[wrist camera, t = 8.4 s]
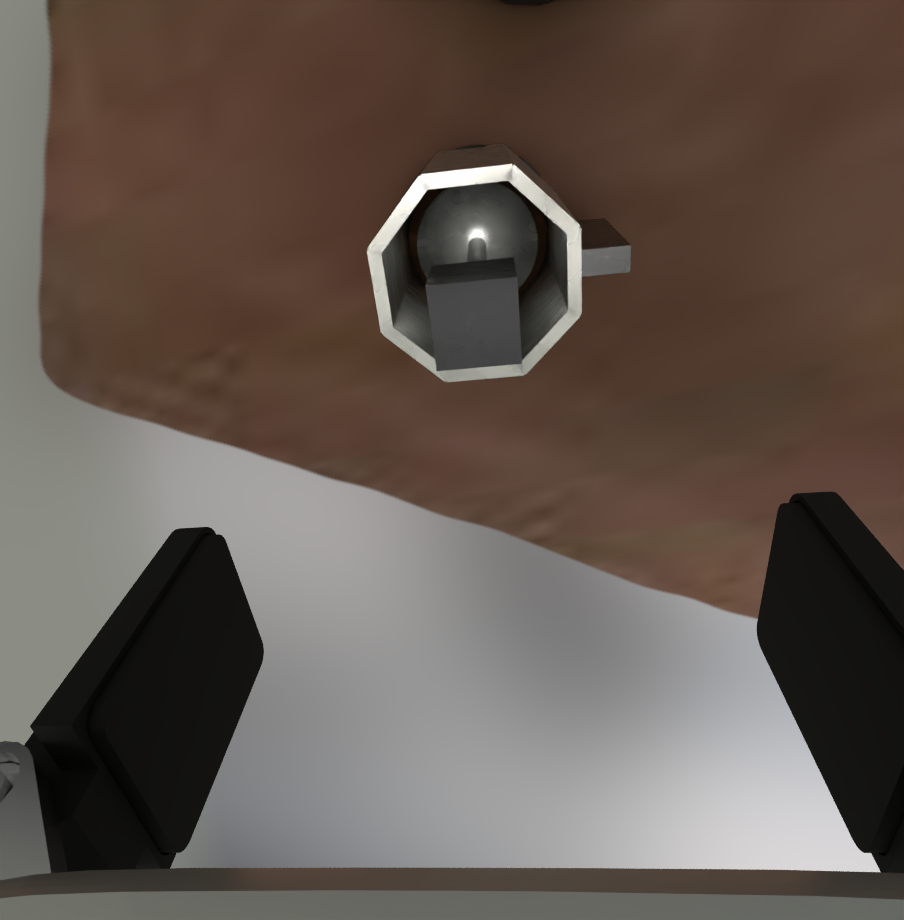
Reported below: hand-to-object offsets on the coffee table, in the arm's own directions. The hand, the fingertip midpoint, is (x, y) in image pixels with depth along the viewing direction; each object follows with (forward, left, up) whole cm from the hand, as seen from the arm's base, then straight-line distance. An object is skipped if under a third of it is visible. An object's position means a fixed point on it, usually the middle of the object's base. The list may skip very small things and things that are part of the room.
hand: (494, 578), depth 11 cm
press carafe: (-1, 0, -32) cm, 32 cm away
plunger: (0, 0, -28) cm, 28 cm away
